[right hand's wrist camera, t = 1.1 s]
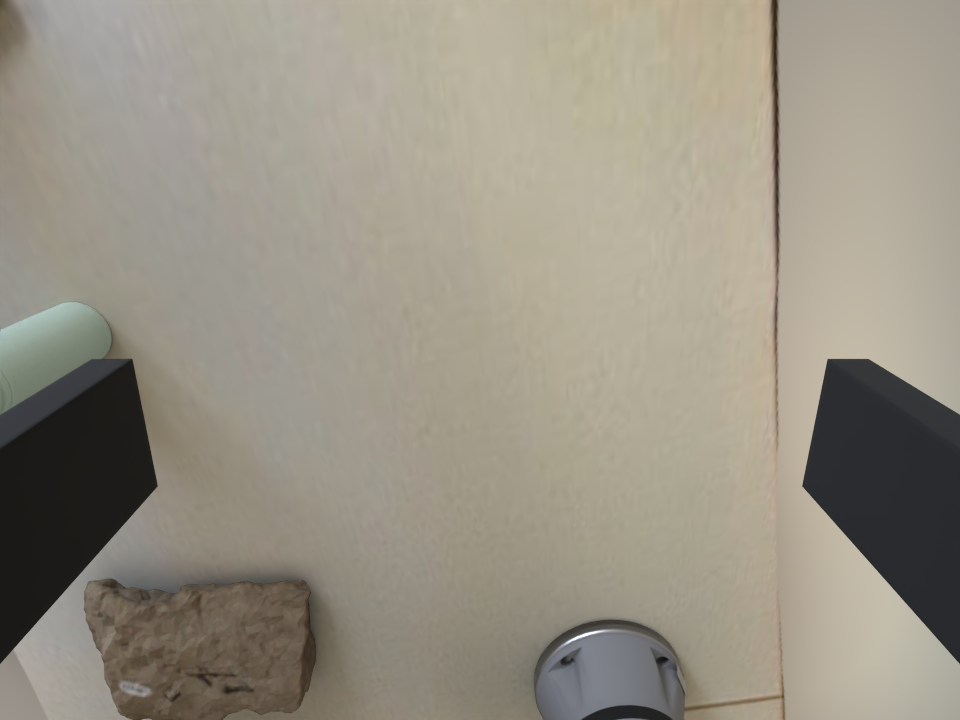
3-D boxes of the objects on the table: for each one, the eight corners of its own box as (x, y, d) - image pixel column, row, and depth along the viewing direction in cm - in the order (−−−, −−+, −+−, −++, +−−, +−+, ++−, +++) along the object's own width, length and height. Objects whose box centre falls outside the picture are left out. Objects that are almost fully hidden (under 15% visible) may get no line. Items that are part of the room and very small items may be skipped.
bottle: (123, 353, 55) (-25, 449, 39) (66, 370, 56) (-104, 472, 39) (92, 293, 53) (-77, 368, 37) (33, 312, 54) (-159, 393, 38)
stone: (102, 709, 65) (76, 753, 59) (93, 569, 63) (65, 599, 57) (317, 690, 68) (313, 729, 62) (315, 557, 66) (310, 584, 61)
